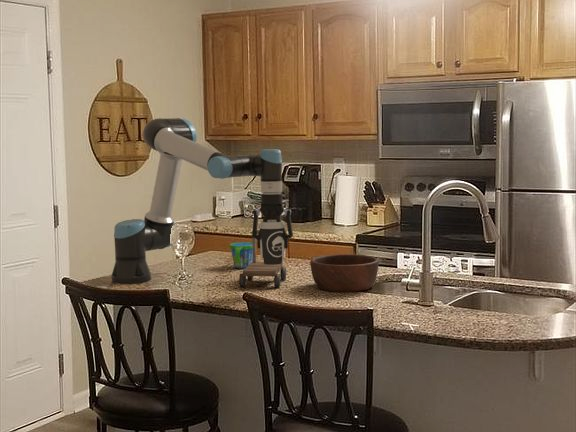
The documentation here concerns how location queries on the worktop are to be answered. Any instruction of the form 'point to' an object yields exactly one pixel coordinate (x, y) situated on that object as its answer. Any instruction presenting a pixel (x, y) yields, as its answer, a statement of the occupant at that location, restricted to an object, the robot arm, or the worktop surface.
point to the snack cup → (242, 254)
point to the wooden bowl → (344, 272)
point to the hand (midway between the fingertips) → (272, 257)
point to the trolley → (262, 269)
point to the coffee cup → (272, 241)
